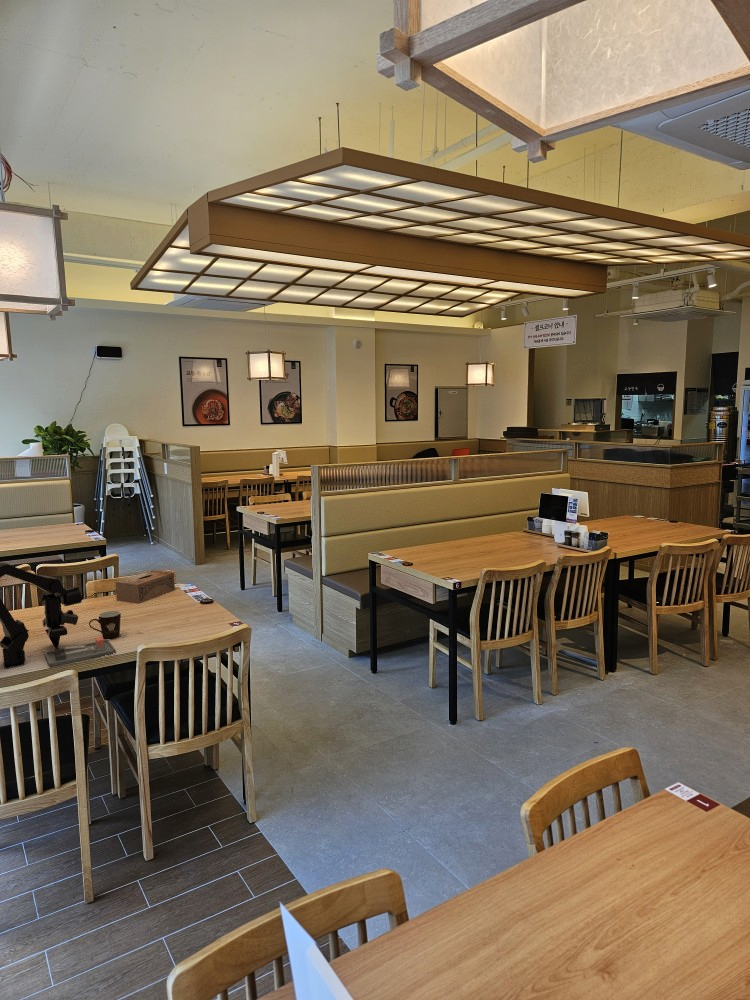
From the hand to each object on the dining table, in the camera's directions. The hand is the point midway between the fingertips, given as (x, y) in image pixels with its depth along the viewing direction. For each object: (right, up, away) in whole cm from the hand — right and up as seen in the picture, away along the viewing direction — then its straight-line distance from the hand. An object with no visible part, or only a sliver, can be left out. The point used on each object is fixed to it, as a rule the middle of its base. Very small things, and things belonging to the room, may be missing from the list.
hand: (56, 647), depth 244 cm
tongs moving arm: (+7, -1, -3) cm, 8 cm away
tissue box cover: (+7, +8, +77) cm, 78 cm away
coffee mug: (+13, 0, +16) cm, 21 cm away
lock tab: (+17, +1, -1) cm, 18 cm away
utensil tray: (+11, -2, -3) cm, 12 cm away
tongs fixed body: (+12, -1, -5) cm, 13 cm away
